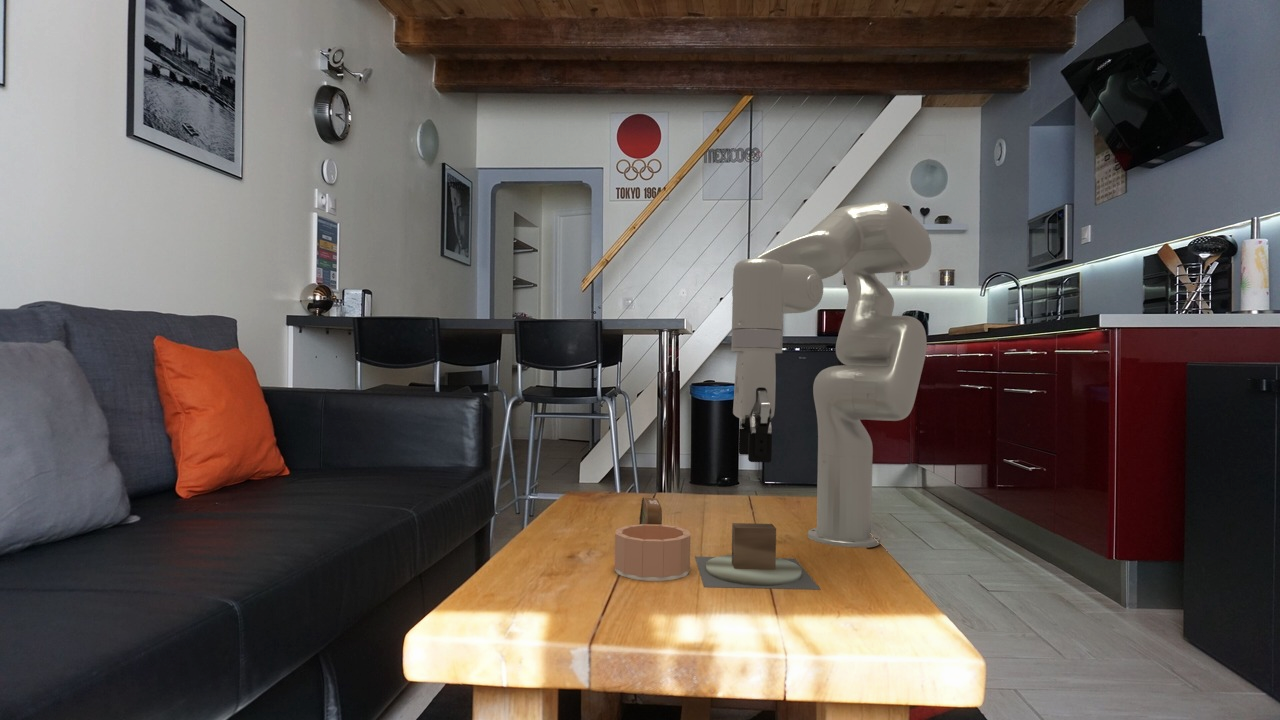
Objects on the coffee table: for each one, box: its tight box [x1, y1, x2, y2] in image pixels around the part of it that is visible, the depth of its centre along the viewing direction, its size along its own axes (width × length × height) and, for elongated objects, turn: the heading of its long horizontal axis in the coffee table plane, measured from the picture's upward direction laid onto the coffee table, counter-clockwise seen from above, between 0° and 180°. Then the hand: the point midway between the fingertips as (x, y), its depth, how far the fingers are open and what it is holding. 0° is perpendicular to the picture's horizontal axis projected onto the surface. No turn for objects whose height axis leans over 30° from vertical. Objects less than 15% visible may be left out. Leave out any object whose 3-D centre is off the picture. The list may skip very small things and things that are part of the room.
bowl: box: [614, 524, 691, 582], centre depth 105 cm, size 11×11×6 cm
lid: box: [706, 522, 802, 586], centre depth 105 cm, size 14×14×7 cm
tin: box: [638, 496, 663, 525], centre depth 119 cm, size 15×3×8 cm, turn 3°
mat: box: [694, 556, 822, 591], centre depth 105 cm, size 16×16×1 cm
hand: (754, 458), depth 105 cm, fingers open, 9 cm apart
